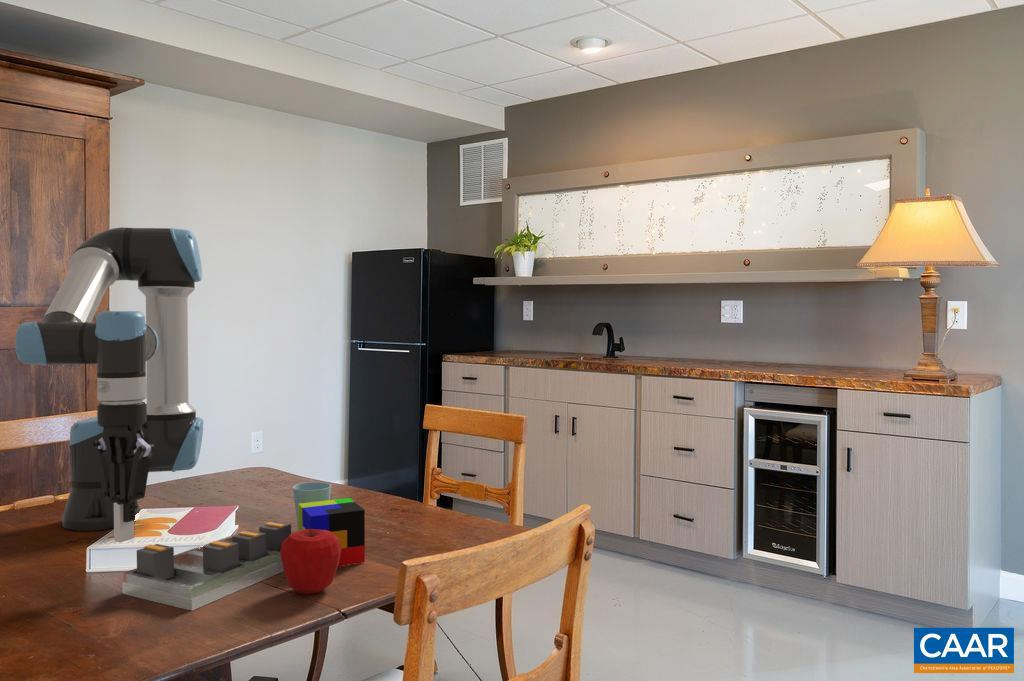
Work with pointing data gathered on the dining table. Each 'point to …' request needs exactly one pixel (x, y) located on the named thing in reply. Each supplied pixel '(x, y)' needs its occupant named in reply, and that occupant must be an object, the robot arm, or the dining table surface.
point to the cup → (311, 493)
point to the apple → (310, 559)
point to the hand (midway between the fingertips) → (124, 539)
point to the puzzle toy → (337, 525)
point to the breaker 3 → (250, 545)
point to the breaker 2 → (220, 556)
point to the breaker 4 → (275, 534)
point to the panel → (201, 597)
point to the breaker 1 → (156, 561)
